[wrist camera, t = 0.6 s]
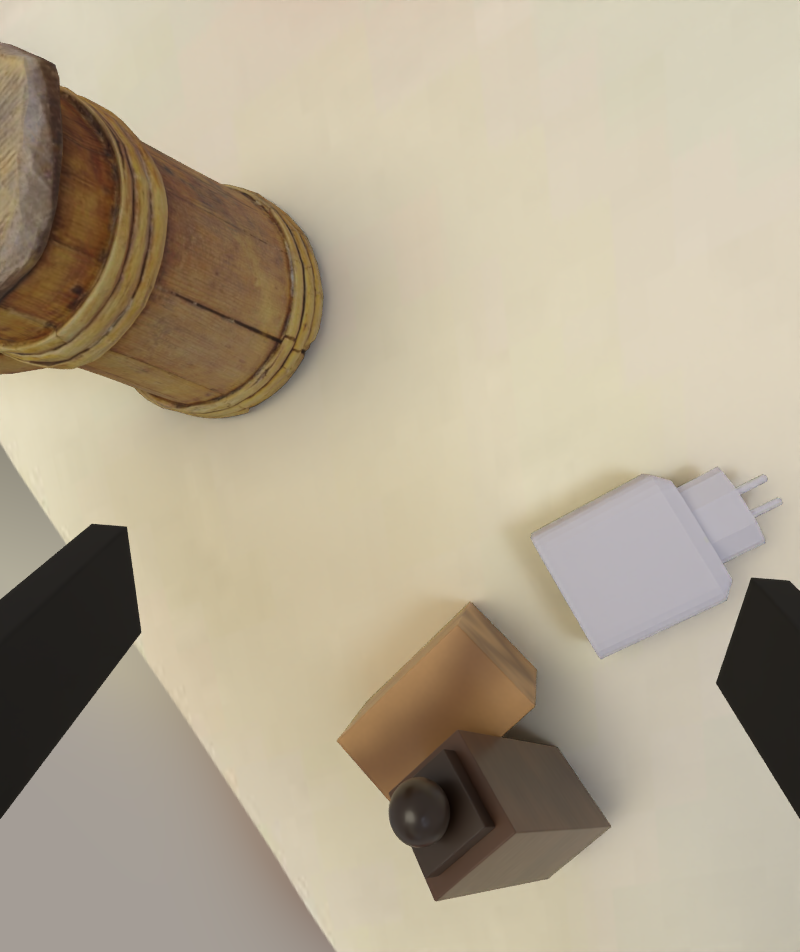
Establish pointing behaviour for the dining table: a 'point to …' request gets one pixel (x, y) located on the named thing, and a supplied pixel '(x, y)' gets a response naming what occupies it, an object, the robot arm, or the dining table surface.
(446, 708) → the wooden block
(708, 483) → the charger
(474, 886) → the pepper mill
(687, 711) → the dining table surface
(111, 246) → the tankard
